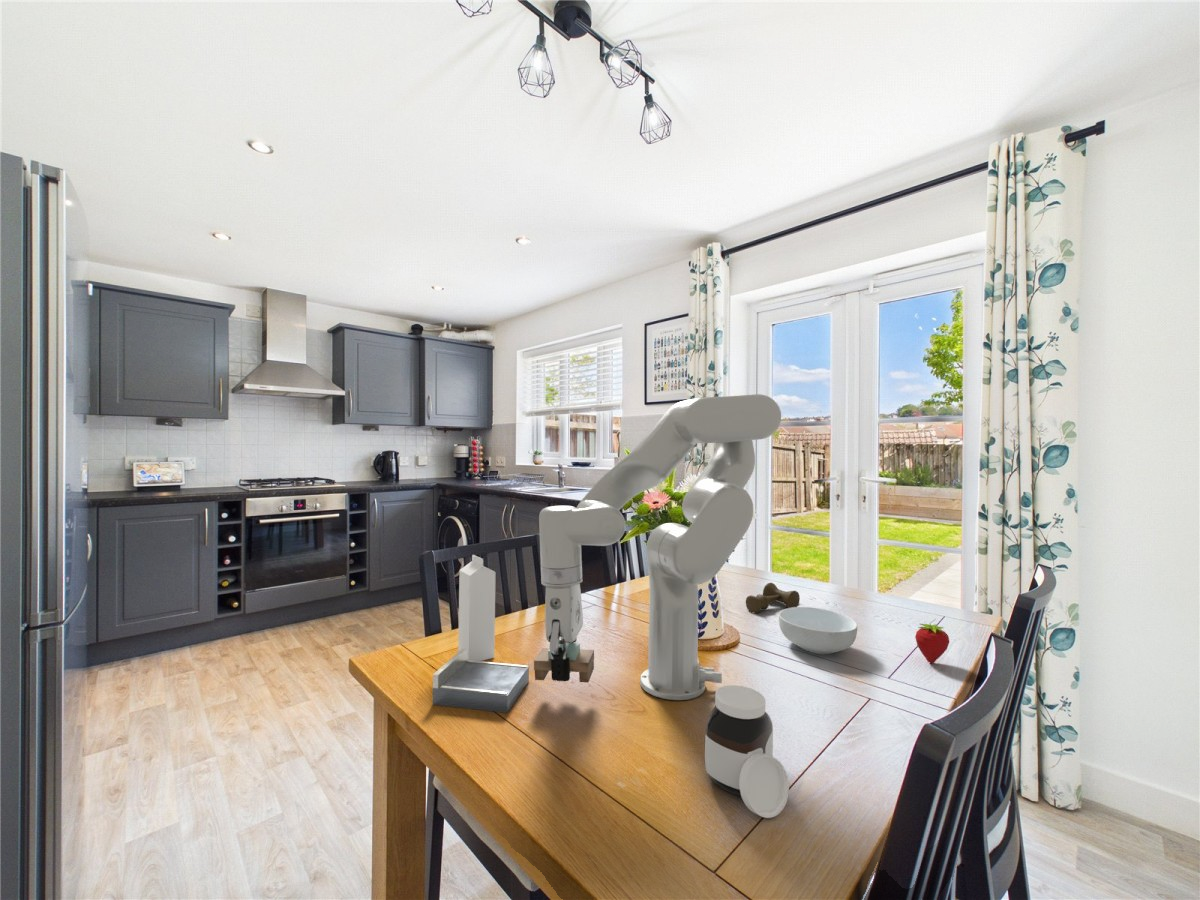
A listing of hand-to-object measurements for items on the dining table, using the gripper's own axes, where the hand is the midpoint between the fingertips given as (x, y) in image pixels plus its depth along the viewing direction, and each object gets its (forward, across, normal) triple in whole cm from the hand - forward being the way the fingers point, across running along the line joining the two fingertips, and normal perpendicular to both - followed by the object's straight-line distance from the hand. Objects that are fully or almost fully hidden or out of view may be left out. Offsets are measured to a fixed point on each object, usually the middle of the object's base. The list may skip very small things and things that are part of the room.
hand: (565, 670), depth 91 cm
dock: (+4, -1, +16) cm, 17 cm away
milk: (+5, +14, +24) cm, 28 cm away
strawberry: (+9, +31, -75) cm, 82 cm away
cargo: (-3, 0, 0) cm, 3 cm away
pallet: (+1, 0, 0) cm, 1 cm away
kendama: (+9, +65, -47) cm, 81 cm away
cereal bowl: (+9, +35, -52) cm, 63 cm away
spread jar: (+6, -19, -30) cm, 36 cm away
